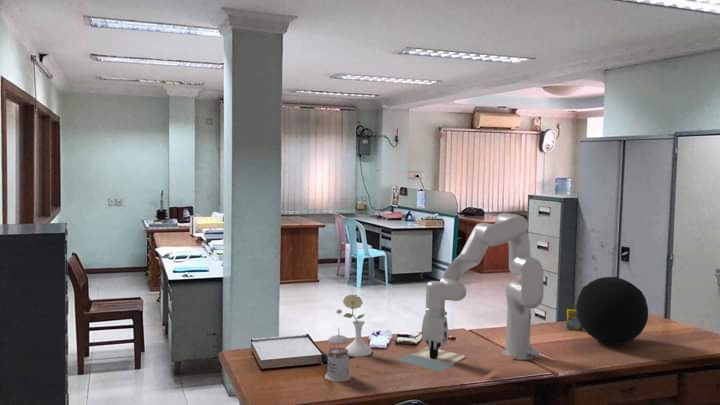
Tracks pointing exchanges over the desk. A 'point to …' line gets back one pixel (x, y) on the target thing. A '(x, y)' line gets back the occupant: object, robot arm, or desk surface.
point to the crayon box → (572, 319)
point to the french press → (338, 359)
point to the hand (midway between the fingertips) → (433, 357)
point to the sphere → (612, 310)
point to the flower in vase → (356, 328)
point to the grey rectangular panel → (425, 362)
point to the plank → (442, 355)
